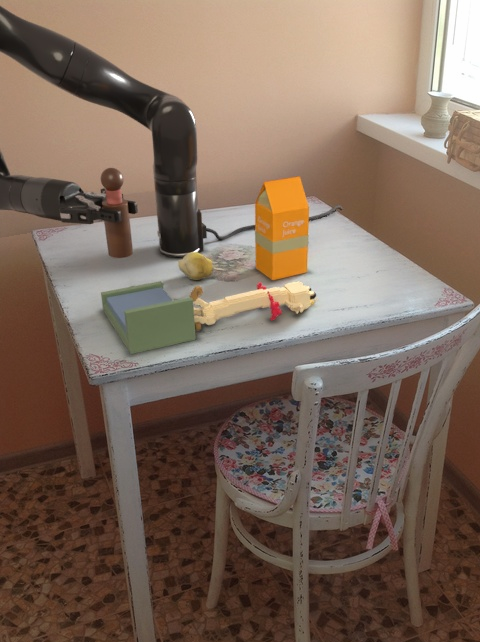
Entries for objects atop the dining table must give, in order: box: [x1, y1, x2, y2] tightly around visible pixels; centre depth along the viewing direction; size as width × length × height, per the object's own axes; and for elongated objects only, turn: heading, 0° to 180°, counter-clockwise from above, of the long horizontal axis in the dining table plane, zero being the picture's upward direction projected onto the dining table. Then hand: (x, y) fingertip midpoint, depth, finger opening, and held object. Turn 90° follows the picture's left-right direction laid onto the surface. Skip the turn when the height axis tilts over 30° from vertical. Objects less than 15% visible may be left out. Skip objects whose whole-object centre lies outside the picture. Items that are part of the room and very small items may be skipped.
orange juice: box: [254, 175, 310, 281], centre depth 148 cm, size 8×9×20 cm
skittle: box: [100, 167, 134, 259], centre depth 129 cm, size 5×5×16 cm
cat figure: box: [189, 280, 319, 332], centre depth 132 cm, size 10×9×25 cm
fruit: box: [177, 252, 225, 281], centre depth 148 cm, size 6×6×10 cm
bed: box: [100, 281, 197, 355], centre depth 129 cm, size 12×18×8 cm, turn 27°
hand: (128, 212), depth 128 cm, fingers closed on skittle, 4 cm apart
